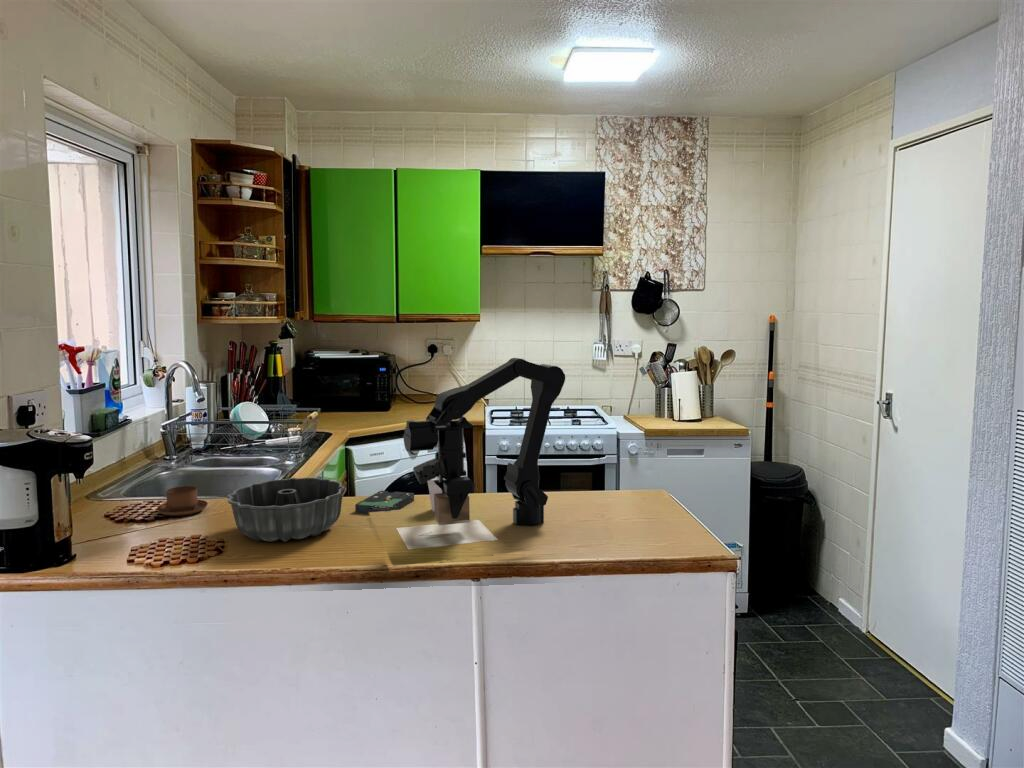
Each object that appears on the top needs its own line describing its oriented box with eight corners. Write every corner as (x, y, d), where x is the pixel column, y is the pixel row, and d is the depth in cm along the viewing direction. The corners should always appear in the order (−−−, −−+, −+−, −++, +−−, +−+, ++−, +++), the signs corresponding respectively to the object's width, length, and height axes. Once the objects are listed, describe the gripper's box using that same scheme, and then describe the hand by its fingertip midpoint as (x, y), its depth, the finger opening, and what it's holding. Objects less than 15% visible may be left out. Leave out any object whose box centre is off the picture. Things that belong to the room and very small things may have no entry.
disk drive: (380, 500, 205) (354, 514, 191) (380, 490, 205) (354, 503, 191) (414, 502, 202) (391, 517, 188) (414, 492, 202) (391, 506, 188)
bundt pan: (245, 558, 157) (243, 512, 156) (217, 527, 179) (215, 487, 178) (362, 535, 172) (361, 493, 171) (323, 510, 194) (322, 472, 193)
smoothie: (450, 517, 185) (450, 463, 184) (425, 517, 186) (424, 463, 184) (453, 510, 192) (452, 457, 190) (428, 510, 192) (427, 457, 190)
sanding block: (464, 516, 172) (463, 491, 172) (469, 522, 168) (469, 496, 167) (434, 519, 170) (433, 493, 170) (439, 525, 165) (438, 499, 165)
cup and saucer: (146, 517, 188) (145, 493, 188) (181, 505, 200) (180, 482, 199) (184, 521, 185) (183, 497, 184) (217, 508, 196) (216, 485, 195)
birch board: (478, 524, 180) (478, 519, 179) (497, 544, 164) (497, 539, 164) (396, 533, 173) (396, 528, 173) (408, 554, 158) (408, 549, 158)
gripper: (408, 443, 173) (409, 507, 175) (423, 458, 156) (425, 530, 158) (454, 439, 177) (455, 503, 179) (474, 454, 159) (475, 525, 161)
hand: (452, 515), depth 169 cm, fingers closed on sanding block, 5 cm apart
